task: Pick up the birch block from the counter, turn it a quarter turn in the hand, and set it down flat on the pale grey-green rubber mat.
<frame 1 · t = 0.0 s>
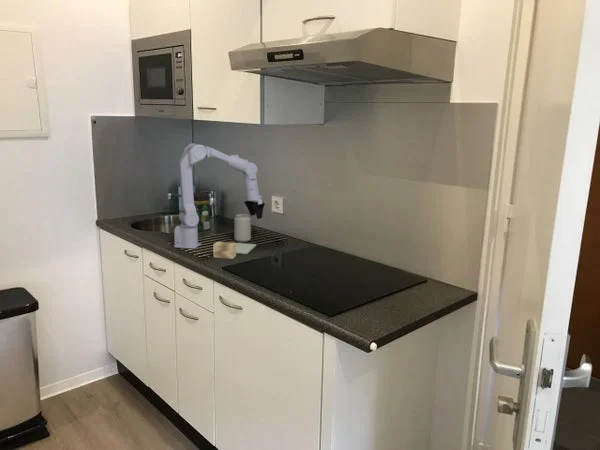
hand: (256, 216, 224), 11 cm above the worktop, tool pointing down, fingers open, 7 cm apart
can: (242, 240, 223), on the worktop
coffee jar: (200, 229, 243), on the worktop
rubber mat: (235, 248, 209), on the worktop
birch block: (224, 256, 196), on the worktop
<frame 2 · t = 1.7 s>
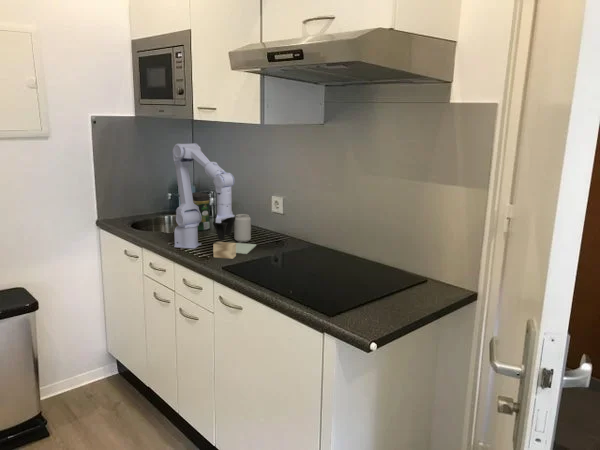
hand: (224, 237, 195), 8 cm above the worktop, tool pointing down, fingers open, 7 cm apart
nothing on the worktop moved.
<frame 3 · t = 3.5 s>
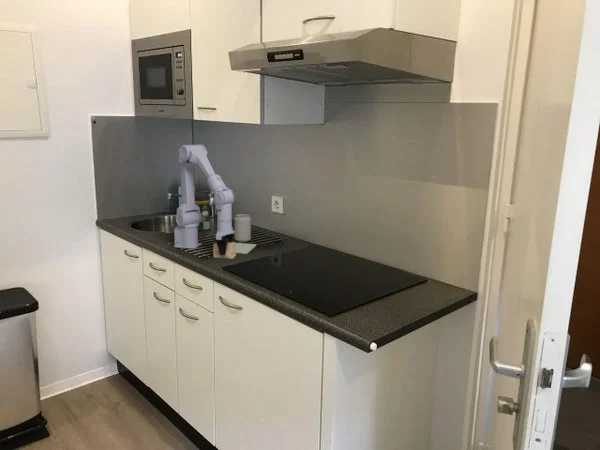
hand: (224, 253, 196), 1 cm above the worktop, tool pointing down, fingers closed on birch block, 4 cm apart
birch block: (224, 256, 196), on the worktop, touching gripper
everything else where it was.
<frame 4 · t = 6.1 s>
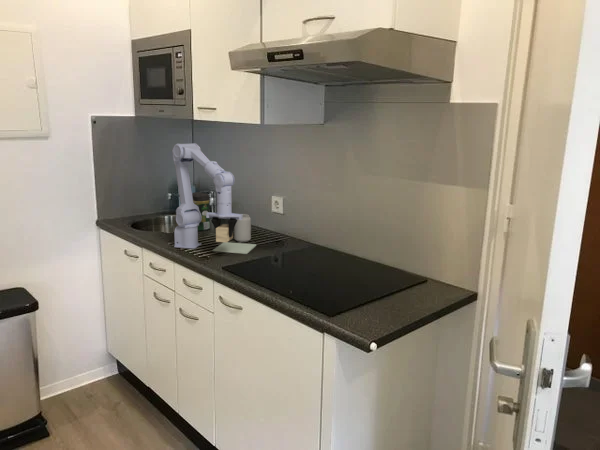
hand: (224, 236, 195), 8 cm above the worktop, tool pointing down, fingers closed on birch block, 4 cm apart
birch block: (224, 239, 195), point 7 cm above the worktop, touching gripper
everything else where it was.
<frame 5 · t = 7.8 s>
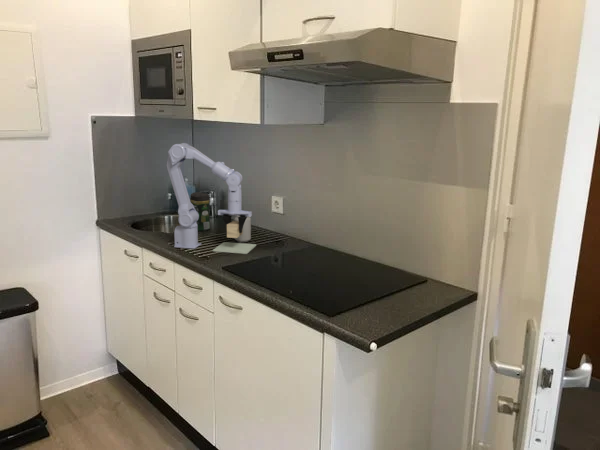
hand: (235, 232, 207), 7 cm above the worktop, tool pointing down, fingers closed on birch block, 4 cm apart
birch block: (234, 235, 208), point 6 cm above the worktop, touching gripper
everything else where it was.
when the fingers open (3 cm above the worktop, at t = 9.2 s): birch block drops 1 cm, resting on rubber mat.
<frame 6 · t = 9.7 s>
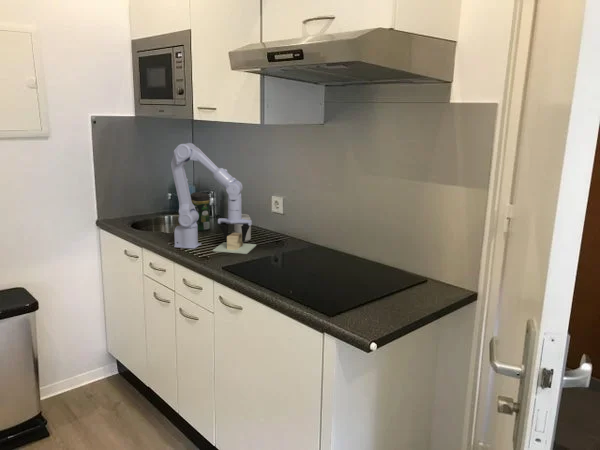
hand: (234, 240, 208), 3 cm above the worktop, tool pointing down, fingers open, 7 cm apart
birch block: (234, 247, 209), resting on rubber mat
everything else where it was.
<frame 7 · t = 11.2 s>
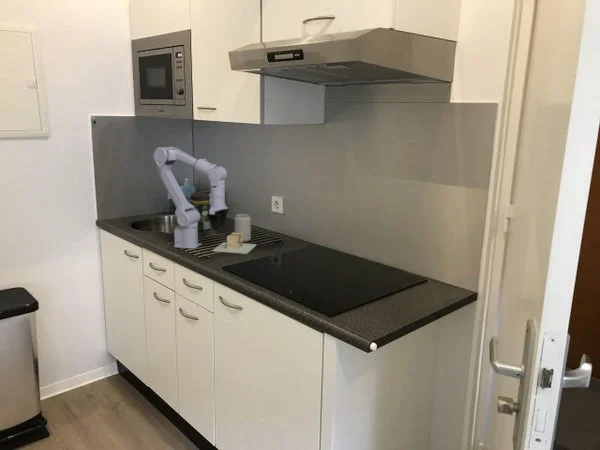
hand: (218, 228, 204), 9 cm above the worktop, tool pointing down, fingers open, 7 cm apart
nothing on the worktop moved.
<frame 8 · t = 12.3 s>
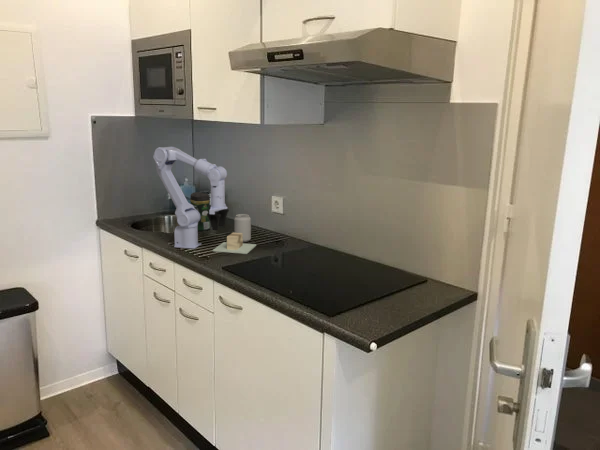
hand: (218, 228, 204), 9 cm above the worktop, tool pointing down, fingers open, 7 cm apart
nothing on the worktop moved.
at the end: birch block inside the target area on the rubber mat (0.1 cm from its centre), point 0.5 cm above the rubber mat's base; birch block tilted 0°; the gripper is holding nothing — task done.
